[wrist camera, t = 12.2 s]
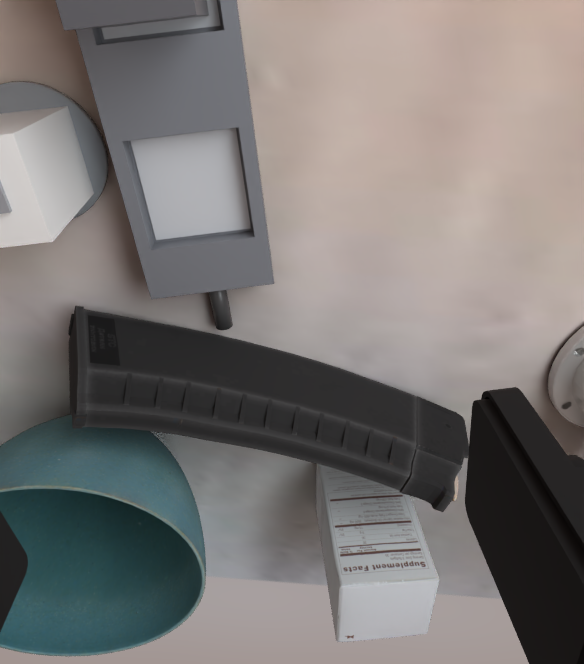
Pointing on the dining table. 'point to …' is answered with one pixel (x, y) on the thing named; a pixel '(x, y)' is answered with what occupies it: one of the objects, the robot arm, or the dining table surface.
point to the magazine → (260, 403)
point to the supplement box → (373, 558)
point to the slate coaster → (87, 133)
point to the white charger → (39, 175)
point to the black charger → (125, 12)
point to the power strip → (184, 151)
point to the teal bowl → (98, 539)
